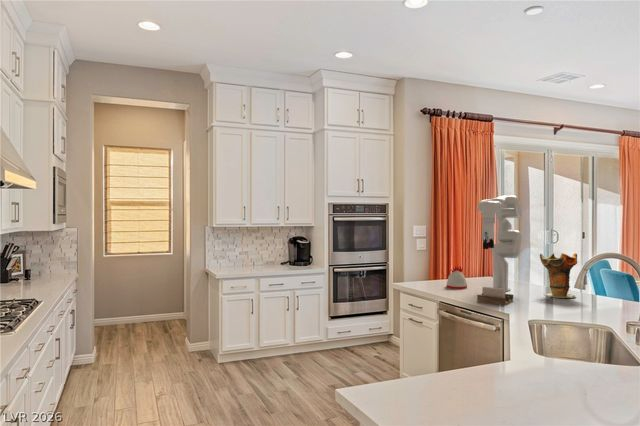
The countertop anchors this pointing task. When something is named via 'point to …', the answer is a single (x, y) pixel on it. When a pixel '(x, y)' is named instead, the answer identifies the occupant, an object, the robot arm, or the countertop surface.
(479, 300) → the walnut rack
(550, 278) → the decorative vase
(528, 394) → the countertop surface
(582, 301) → the countertop surface
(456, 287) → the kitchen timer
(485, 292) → the beige rectangular block
